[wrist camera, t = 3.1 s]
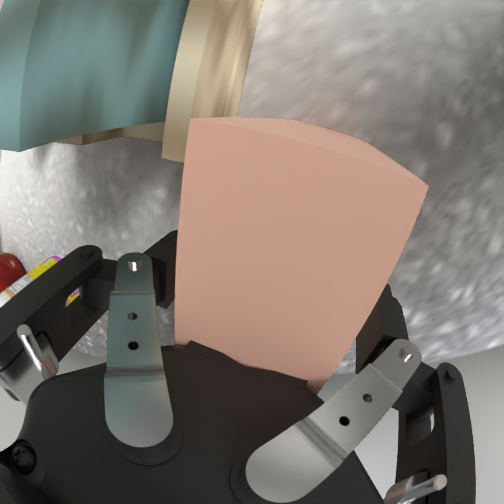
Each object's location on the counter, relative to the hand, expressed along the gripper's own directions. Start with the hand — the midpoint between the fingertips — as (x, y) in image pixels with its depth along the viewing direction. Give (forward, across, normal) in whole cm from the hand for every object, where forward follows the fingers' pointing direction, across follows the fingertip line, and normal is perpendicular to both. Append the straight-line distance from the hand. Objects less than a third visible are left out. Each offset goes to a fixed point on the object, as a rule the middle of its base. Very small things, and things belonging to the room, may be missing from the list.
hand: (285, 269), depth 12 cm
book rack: (+5, +14, -11) cm, 19 cm away
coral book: (+5, 0, 0) cm, 5 cm away
